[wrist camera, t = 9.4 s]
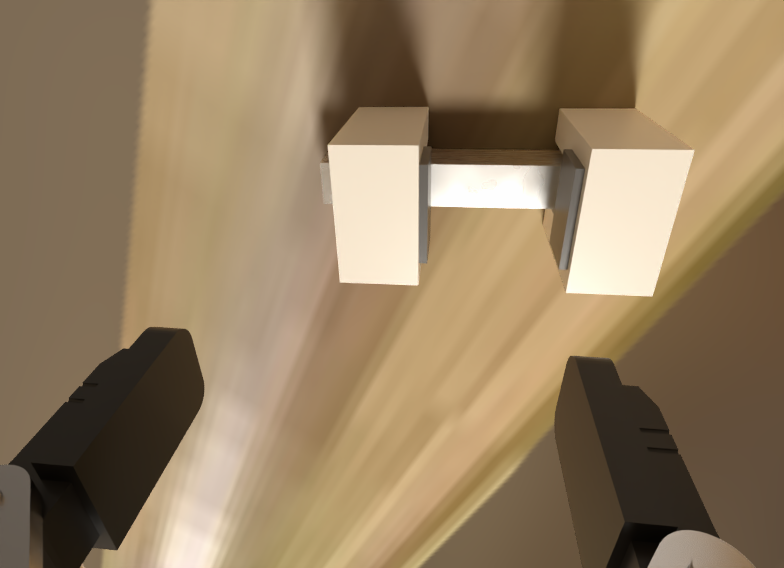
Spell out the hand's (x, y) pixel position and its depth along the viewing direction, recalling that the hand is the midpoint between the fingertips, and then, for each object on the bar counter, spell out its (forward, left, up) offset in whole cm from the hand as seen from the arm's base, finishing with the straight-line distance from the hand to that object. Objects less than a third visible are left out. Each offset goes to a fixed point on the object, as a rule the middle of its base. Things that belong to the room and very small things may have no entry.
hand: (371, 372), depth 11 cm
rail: (+2, +3, -21) cm, 22 cm away
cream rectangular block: (+2, -2, -21) cm, 22 cm away
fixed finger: (+2, +9, -21) cm, 23 cm away
